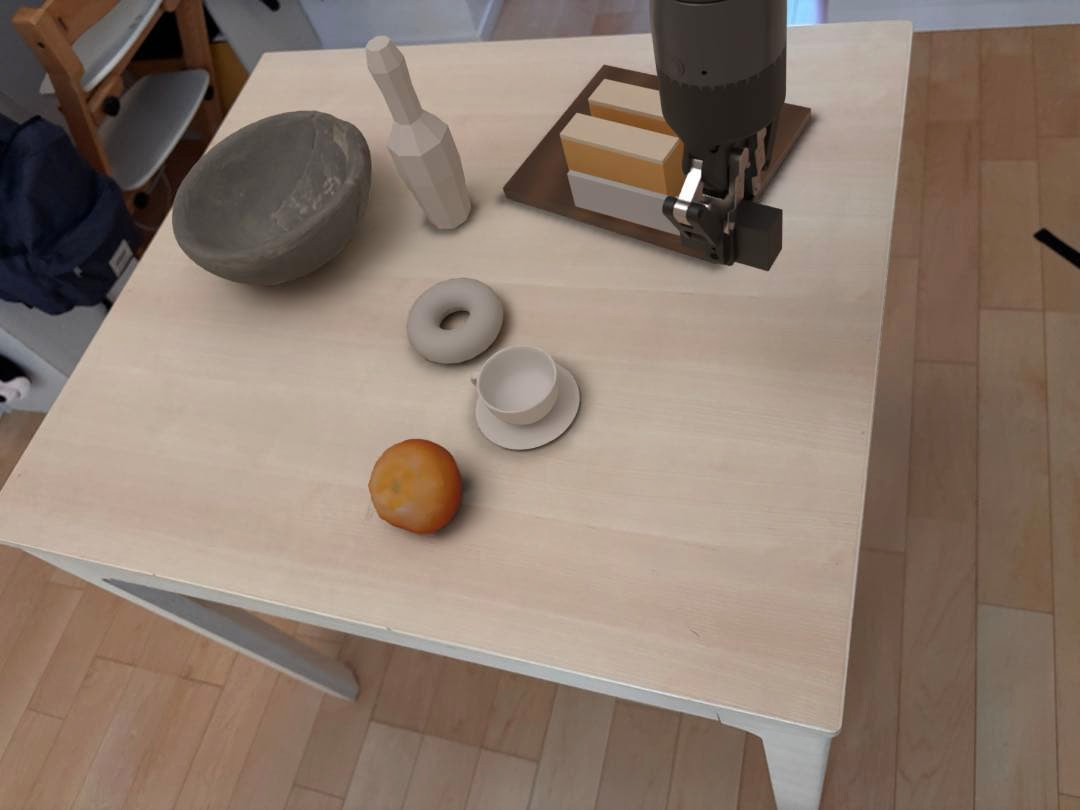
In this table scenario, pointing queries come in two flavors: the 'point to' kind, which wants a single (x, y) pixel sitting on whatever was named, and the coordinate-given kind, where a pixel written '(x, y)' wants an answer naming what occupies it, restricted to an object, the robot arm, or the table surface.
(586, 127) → the orange u-shaped channel
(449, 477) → the fruit
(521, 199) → the board
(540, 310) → the table surface
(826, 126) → the table surface
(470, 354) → the donut
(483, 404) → the teacup
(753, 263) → the kitchen blade
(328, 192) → the bowl
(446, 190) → the faceted bottle
